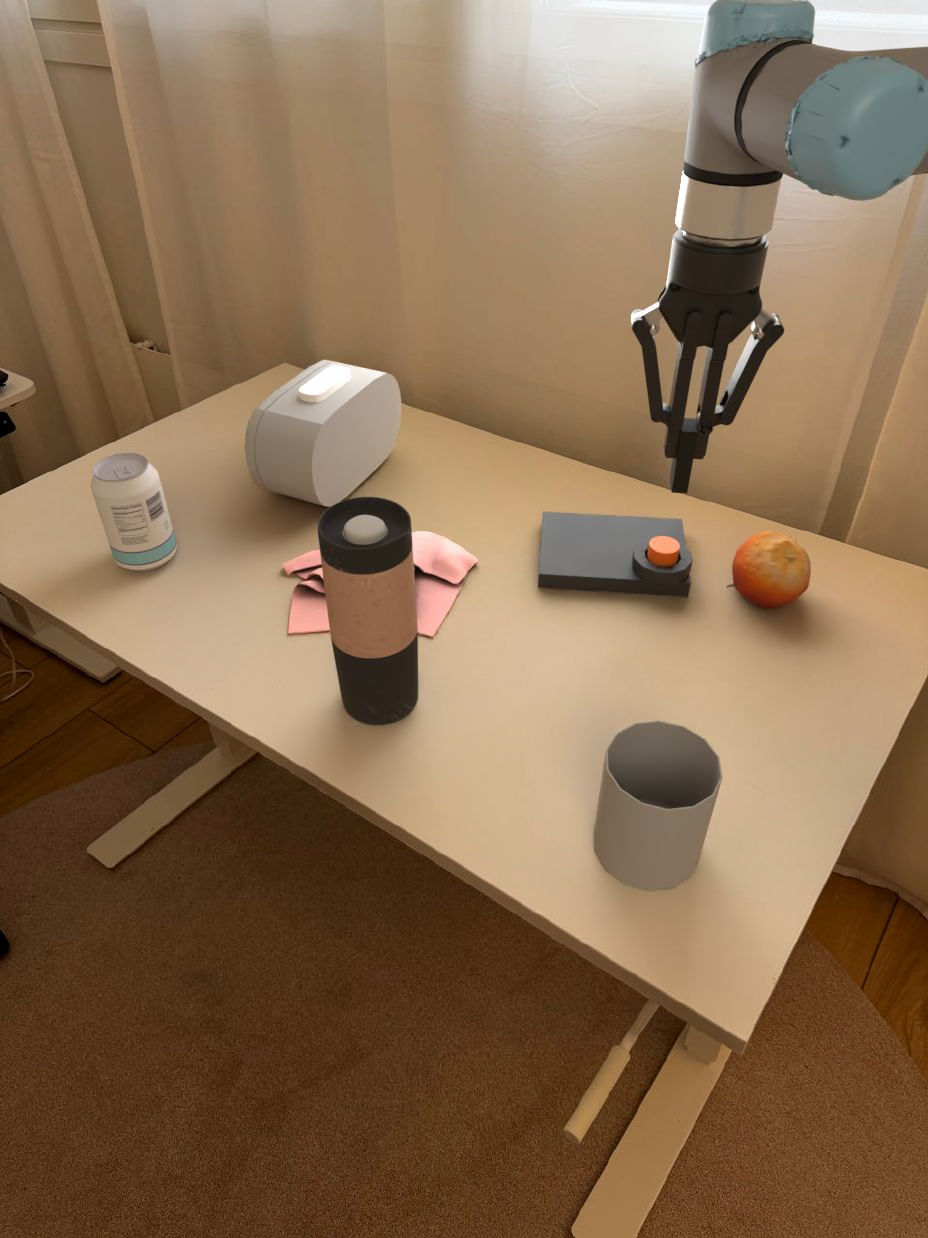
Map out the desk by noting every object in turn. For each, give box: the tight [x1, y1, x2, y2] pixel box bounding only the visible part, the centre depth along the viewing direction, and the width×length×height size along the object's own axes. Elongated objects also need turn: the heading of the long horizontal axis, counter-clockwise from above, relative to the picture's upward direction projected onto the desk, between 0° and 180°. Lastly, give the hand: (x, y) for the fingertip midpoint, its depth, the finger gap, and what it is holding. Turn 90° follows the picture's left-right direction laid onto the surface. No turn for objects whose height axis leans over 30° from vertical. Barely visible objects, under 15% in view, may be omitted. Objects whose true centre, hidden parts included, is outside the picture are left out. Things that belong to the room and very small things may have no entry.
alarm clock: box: [244, 359, 402, 508], centre depth 109 cm, size 21×10×13 cm, turn 154°
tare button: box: [647, 536, 680, 566], centre depth 94 cm, size 3×3×2 cm
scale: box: [537, 511, 693, 598], centre depth 99 cm, size 16×13×4 cm
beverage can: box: [90, 452, 178, 572], centre depth 97 cm, size 7×7×12 cm
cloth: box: [282, 530, 480, 638], centre depth 96 cm, size 20×22×2 cm
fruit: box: [726, 530, 812, 610], centre depth 93 cm, size 8×8×8 cm
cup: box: [593, 720, 724, 892], centre depth 68 cm, size 8×8×10 cm
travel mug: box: [317, 496, 419, 726], centre depth 77 cm, size 8×8×20 cm
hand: (678, 485), depth 86 cm, fingers closed
